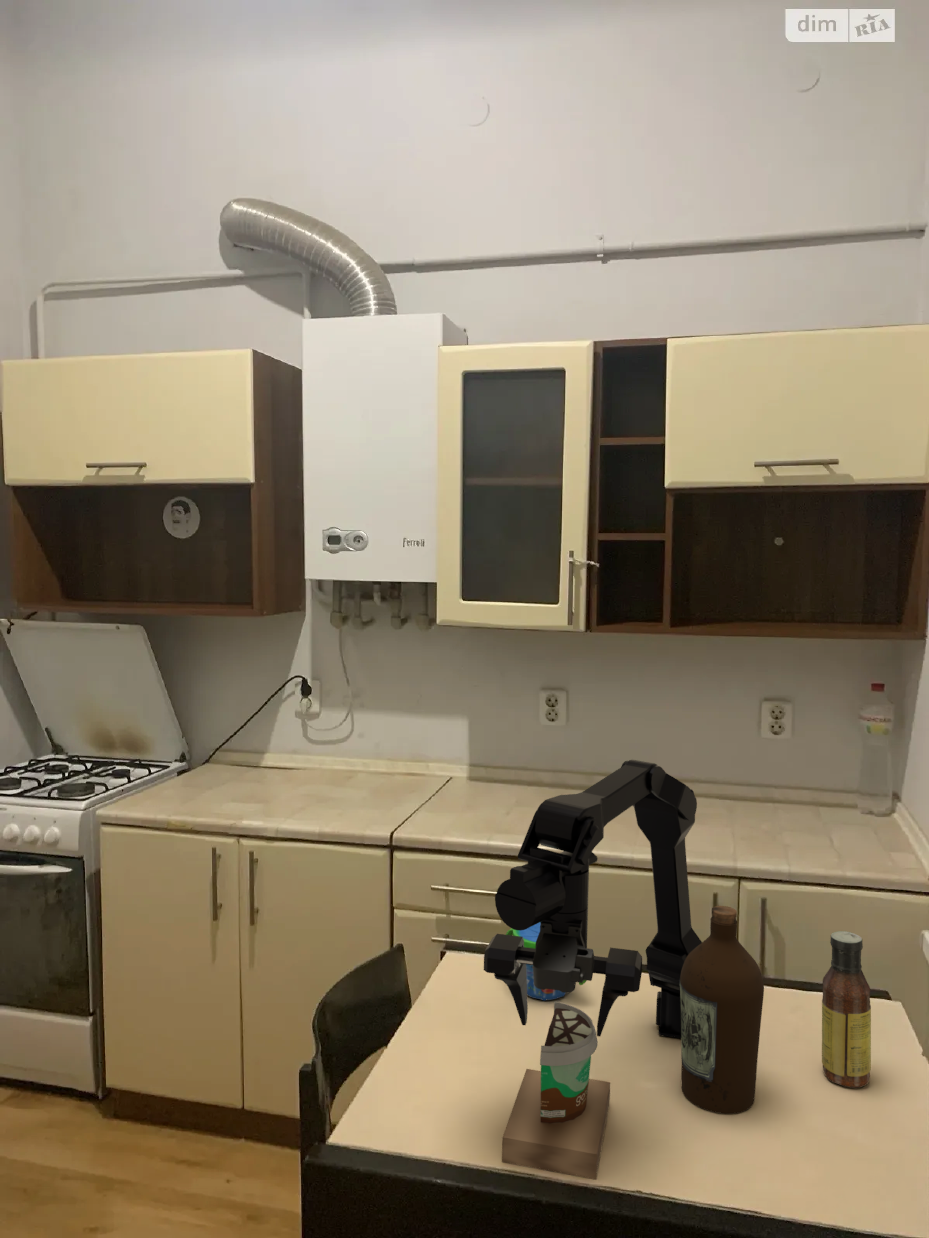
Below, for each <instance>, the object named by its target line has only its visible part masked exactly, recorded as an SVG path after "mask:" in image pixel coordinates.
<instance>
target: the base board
mask: <svg viewBox="0 0 929 1238" xmlns="http://www.w3.org/2000/svg"><path fill="white" fill-rule="evenodd" d="M610 1094H611V1082H610V1081H605V1080H600V1079H599V1080H598V1079H593V1078H589V1083H588V1093H587V1103H586V1108H585V1110H584V1112H583V1113H582V1115H580V1116H578V1117H577V1118H575V1119H574V1120H570V1121H567V1122H563V1123H541V1070H537V1069H531V1068H526V1070H525V1072H524V1074H523V1078H522V1081H521V1084H520V1085H519V1090H518V1092H517V1094H516V1098H515V1100H514V1103H513V1106H512V1109H511V1112H510V1115H509V1117H508V1121H507V1123H506V1126H505V1129H504V1132H503V1134H502V1137H501V1138H502V1139H501V1146H502V1147H501V1162H502V1163H505V1164H511V1165H517V1166H522V1167H528V1168H534V1169H538V1170H543V1171H544V1170H545V1171H549V1172H555V1173H560V1174H564V1175H571V1176H575V1177H581V1178H587V1179H592V1180H597V1178H598V1173H599V1172H598V1171H599V1165H600V1160H601V1153H602V1149H603V1143H604V1138H605V1131H606V1128H607V1122H608V1115H609V1109H610V1099H611V1097H610V1096H611V1095H610Z"/></svg>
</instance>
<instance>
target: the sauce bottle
mask: <svg viewBox="0 0 929 1238" xmlns="http://www.w3.org/2000/svg"><path fill="white" fill-rule="evenodd" d="M829 943H830V946H831V962H830V967H829V969H828V970H827V972H826V973H825V974H824V976H823V978H822V1000H821V1064H822V1071H823V1073H824V1076H825V1077H826V1079H828V1081H830V1082H832V1083H835V1084H837V1085H839V1086H843V1087H845V1088H851V1089H852V1088H863V1087H864V1086H867V1085H868V1083H869V1082H870V1079H871V1075H870V1074H871V1068H872V1040H871V1039H872V1007H871V987H870V985H869V983H868V981H867V979H866V977H865V974H864V972H863V970H862V968H863V967H862V950H863V947H864V946H863V938H862V936H860V935H858V934H856V933H854V932H850V931H846V930H843V931H842V930H841V931H835V932H832V933H831V934H830V940H829Z"/></svg>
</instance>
